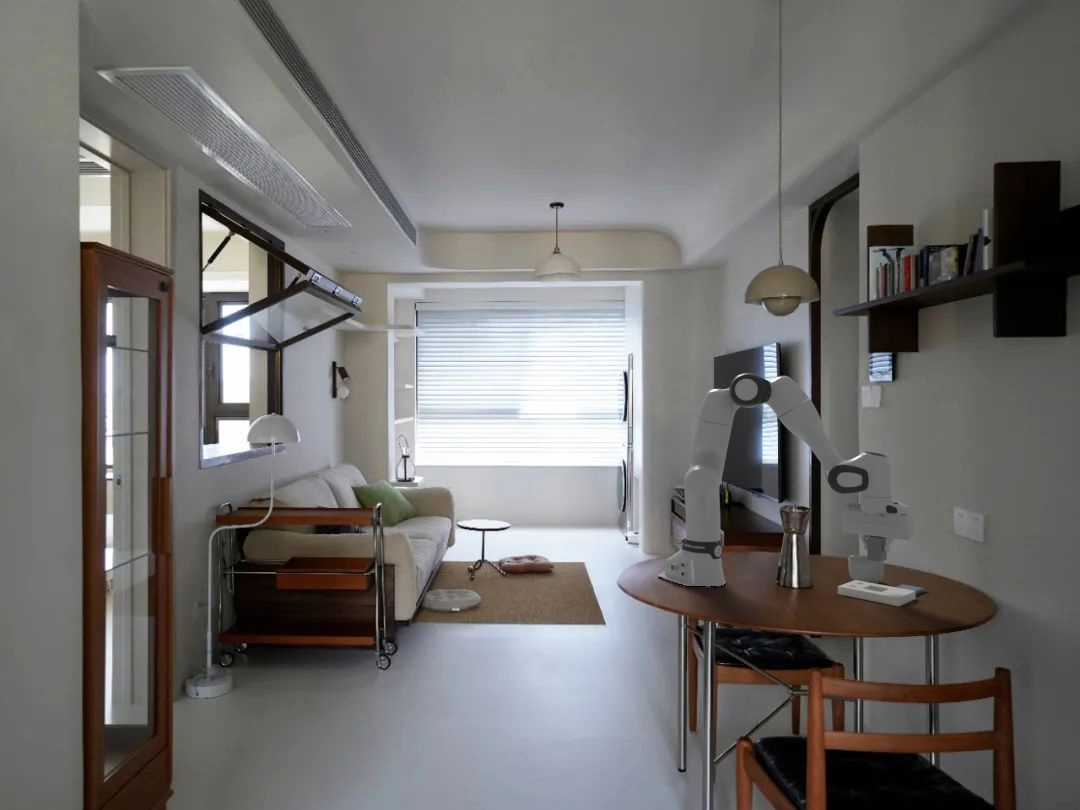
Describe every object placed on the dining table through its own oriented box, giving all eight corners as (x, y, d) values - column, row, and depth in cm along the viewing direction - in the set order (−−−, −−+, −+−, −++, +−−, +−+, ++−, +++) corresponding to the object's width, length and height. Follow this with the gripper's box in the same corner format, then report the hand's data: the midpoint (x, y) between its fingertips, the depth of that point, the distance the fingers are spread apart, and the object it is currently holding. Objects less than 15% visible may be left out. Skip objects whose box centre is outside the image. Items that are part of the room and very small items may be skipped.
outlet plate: (837, 594, 217) (837, 585, 217) (855, 587, 225) (855, 579, 225) (898, 606, 204) (898, 597, 204) (915, 599, 211) (915, 590, 211)
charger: (867, 559, 214) (867, 536, 215) (873, 557, 217) (872, 534, 217) (880, 561, 211) (880, 537, 212) (886, 559, 214) (886, 536, 214)
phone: (887, 593, 218) (887, 589, 218) (901, 587, 225) (901, 583, 225) (910, 597, 213) (910, 594, 213) (925, 591, 220) (925, 587, 220)
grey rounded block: (890, 586, 226) (890, 561, 226) (856, 586, 226) (856, 561, 226) (870, 576, 240) (869, 552, 240) (838, 576, 240) (838, 552, 240)
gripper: (837, 503, 220) (838, 547, 220) (906, 509, 205) (907, 557, 205) (847, 501, 224) (848, 545, 224) (915, 507, 209) (916, 554, 209)
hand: (876, 551), depth 214 cm, fingers closed on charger, 4 cm apart
